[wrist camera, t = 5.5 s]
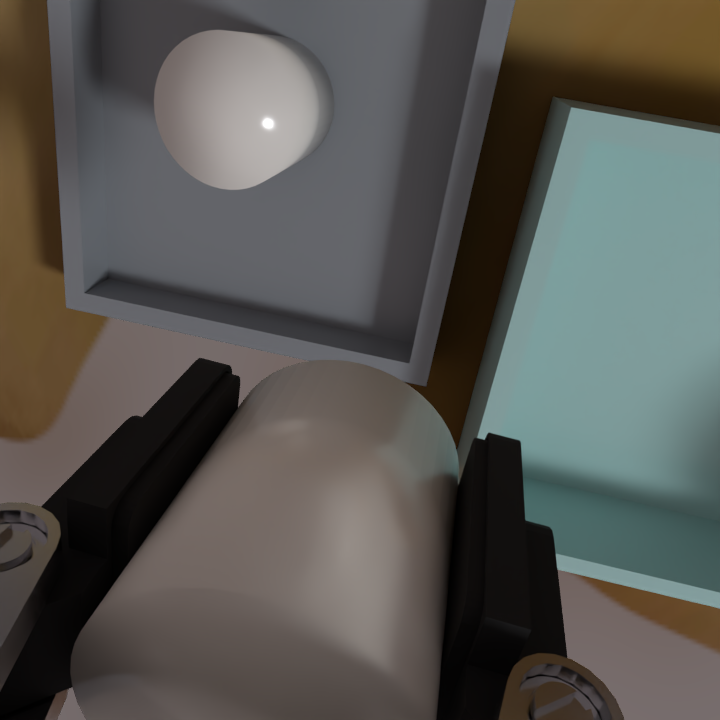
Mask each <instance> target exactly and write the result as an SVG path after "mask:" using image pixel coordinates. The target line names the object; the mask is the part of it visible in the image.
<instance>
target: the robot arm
mask: <svg viewBox="0 0 720 720" xmlns="http://www.w3.org/2000/svg"><path fill="white" fill-rule="evenodd" d="M239 390H240V377H239V376H236V375H233V374H232V369H231V367H230V366H229V365H226V364H222V363H218V362H214V361H210V360H206V359H202V358H199V359H198V360H196V361H195V362H194V363H193V364H192V365H191V367H190V368H189V369H188V370H187V371H186V372H185V373H184V374H183V375H182V376H181V377H180V378H179V379H178V380H177V381H176V382H175V383H174V384H173V386H171V388H170V389H169V390H168V391H167V392H166V393H165V394H164V395H163V396H162V397H161V398H160V399H159V400H158V401H157V402H156V403H155V404H154V405H153V407H152V408H151V409H150V410H149V411H148V412H147V413H146V414H145V415H144V416H143V417H140V416H132V417H130V418H129V419H128V420H126V421H125V422H124V423H123V424H122V425H121V426H120V427H119V428H118V429H117V430H116V431H115V432H114V433H113V434H112V435H111V436H110V437H109V438H108V439H107V440H106V441H105V443H103V444H102V446H101V447H100V448H99V449H98V450H97V451H96V452H95V453H94V454H93V455H92V456H91V457H90V458H89V459H88V460H87V461H86V462H85V463H84V464H83V465H82V466H81V467H80V468H79V469H78V470H77V471H76V472H75V473H74V474H73V475H72V476H71V477H70V478H69V479H68V480H67V481H66V482H65V483H64V484H63V485H62V486H61V487H60V488H59V489H58V490H57V491H56V492H55V493H54V494H53V495H52V496H51V498H49V499H48V501H46V502H45V504H43V506H42V507H40V506H36V505H32V504H28V503H2V504H0V720H58V717H59V715H60V713H61V710H62V708H63V705H64V703H65V701H66V698H67V695H68V690H69V688H71V687H72V680H71V674H70V667H71V655H72V651H73V647H74V643H75V641H76V639H77V638H78V636H79V634H80V632H81V630H82V628H83V627H84V626H85V624H86V623H87V621H88V620H89V619H90V617H91V616H92V614H93V613H94V611H95V610H96V609H97V607H98V606H99V604H100V603H101V601H102V600H103V599H104V597H105V596H106V594H107V593H108V592H109V590H110V589H111V587H112V586H113V584H114V583H115V582H116V580H117V579H118V577H119V576H120V575H121V573H122V572H123V570H124V569H125V567H126V566H127V565H128V563H129V562H130V560H131V559H132V557H133V556H134V555H135V553H136V552H137V550H138V549H139V548H140V546H141V545H142V543H143V542H144V540H145V539H146V538H147V536H148V535H149V533H150V532H151V531H152V529H153V528H154V526H155V525H156V523H157V522H158V521H159V519H160V518H161V516H162V515H163V514H164V512H165V511H166V509H167V508H168V506H169V505H170V504H171V502H172V501H173V499H174V498H175V496H176V495H177V494H178V492H179V491H180V489H181V488H182V487H183V485H184V484H185V482H186V481H187V479H188V478H189V477H190V475H191V474H192V472H193V471H194V470H195V468H196V467H197V465H198V464H199V462H200V461H201V460H202V458H203V457H204V455H205V454H206V453H207V451H208V450H209V448H210V447H211V445H212V444H213V443H214V441H215V440H216V438H217V437H218V435H219V434H220V433H221V431H222V430H223V428H224V427H225V426H226V424H227V423H228V421H229V420H230V418H231V417H232V416H233V414H234V413H235V411H236V410H237V409H238V399H239ZM436 720H624V717H623V715H622V712H621V710H620V708H619V705H618V703H617V701H616V699H615V698H614V696H613V695H612V694H611V692H610V691H609V690H608V688H607V687H606V685H605V684H604V683H603V682H602V681H601V680H600V679H599V678H597V677H596V676H595V675H594V674H593V673H592V672H591V671H590V670H588V669H587V668H585V667H583V666H582V665H580V664H578V663H577V662H575V661H573V660H571V659H568V658H567V651H566V642H565V633H564V624H563V615H562V606H561V597H560V588H559V579H558V570H557V561H556V552H555V543H554V536H553V531H552V529H551V528H550V527H548V526H545V525H541V524H537V523H534V522H530V521H526V520H525V505H524V487H523V470H522V452H521V441H520V440H516V439H512V438H509V437H505V436H501V435H497V434H493V433H488V434H487V436H486V438H485V440H483V439H479V438H476V437H475V438H474V439H473V442H472V444H471V447H470V451H469V454H468V457H467V460H466V463H465V466H464V469H463V472H462V475H461V478H460V482H459V485H458V491H457V501H456V512H455V523H454V534H453V545H452V555H451V566H450V577H449V588H448V599H447V609H446V620H445V631H444V642H443V653H442V664H441V674H440V686H439V697H438V708H437V719H436Z"/></svg>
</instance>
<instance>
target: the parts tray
mask: <svg viewBox="0 0 720 720" xmlns="http://www.w3.org/2000/svg"><path fill="white" fill-rule="evenodd" d="M514 4H515V0H47V8H48V24H49V40H50V56H51V72H52V88H53V104H54V120H55V136H56V152H57V168H58V184H59V200H60V216H61V232H62V248H63V264H64V280H65V296H66V308H70V309H75V310H79V311H84V312H88V313H93V314H97V315H102V316H106V317H111V318H116V319H121V320H125V321H129V322H134V323H139V324H143V325H148V326H152V327H157V328H161V329H166V330H171V331H175V332H180V333H184V334H189V335H194V336H198V337H202V338H207V339H212V340H216V341H220V342H225V343H230V344H234V345H239V346H243V347H248V348H252V349H257V350H261V351H267V352H271V353H276V354H280V355H284V356H289V357H293V358H298V359H303V360H308V361H314V360H341V361H350V362H355V363H360V364H364V365H367V366H370V367H373V368H377V369H379V370H382V371H384V372H386V373H388V374H390V375H393V376H395V377H396V378H398V379H400V380H401V381H403V382H407V383H412V384H417V385H421V386H426V385H427V381H428V377H429V372H430V368H431V364H432V359H433V355H434V351H435V346H436V342H437V338H438V333H439V329H440V325H441V320H442V316H443V312H444V307H445V303H446V299H447V294H448V290H449V286H450V281H451V277H452V273H453V268H454V264H455V260H456V255H457V251H458V247H459V242H460V238H461V234H462V229H463V225H464V221H465V216H466V212H467V208H468V203H469V199H470V195H471V190H472V186H473V182H474V177H475V173H476V169H477V164H478V160H479V156H480V151H481V147H482V143H483V138H484V134H485V130H486V125H487V121H488V117H489V112H490V108H491V104H492V99H493V95H494V91H495V86H496V82H497V78H498V73H499V69H500V65H501V60H502V56H503V52H504V47H505V43H506V39H507V34H508V30H509V26H510V21H511V17H512V13H513V8H514ZM209 30H226V31H236V32H246V33H255V34H265V35H275V36H283V37H287V38H290V39H293V40H295V41H297V42H299V43H301V44H302V45H304V46H305V47H307V48H308V49H309V50H310V51H312V52H313V53H314V55H315V56H316V57H317V58H318V59H319V60H320V62H321V63H322V65H323V66H324V68H325V70H326V71H327V74H328V76H329V78H330V81H331V85H332V88H333V94H334V115H333V120H332V124H331V127H330V130H329V132H328V134H327V136H326V138H325V139H324V141H323V142H322V144H321V145H320V146H319V147H318V148H317V149H316V150H315V151H314V152H313V153H312V154H310V155H309V156H307V157H306V158H304V159H303V160H301V161H299V162H297V163H296V164H294V165H292V166H290V167H289V168H287V169H285V170H283V171H282V172H280V173H278V174H276V175H275V176H273V177H271V178H269V179H268V180H266V181H264V182H262V183H260V184H258V185H256V186H253V187H250V188H246V189H240V190H227V189H220V188H216V187H212V186H210V185H207V184H205V183H203V182H201V181H199V180H197V179H196V178H194V177H193V176H191V175H190V174H189V173H187V172H186V171H185V170H184V169H183V168H182V167H181V166H180V165H179V164H178V163H177V162H176V161H175V159H174V158H173V157H172V155H171V154H170V152H169V151H168V150H167V148H166V146H165V144H164V142H163V140H162V138H161V135H160V133H159V130H158V126H157V123H156V117H155V111H154V91H155V85H156V80H157V77H158V74H159V71H160V69H161V67H162V65H163V63H164V61H165V59H166V58H167V56H168V55H169V54H170V52H171V51H172V50H173V49H174V48H175V47H176V46H177V45H178V44H180V43H181V42H182V41H183V40H185V39H187V38H188V37H190V36H192V35H195V34H197V33H200V32H204V31H209Z"/></svg>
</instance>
